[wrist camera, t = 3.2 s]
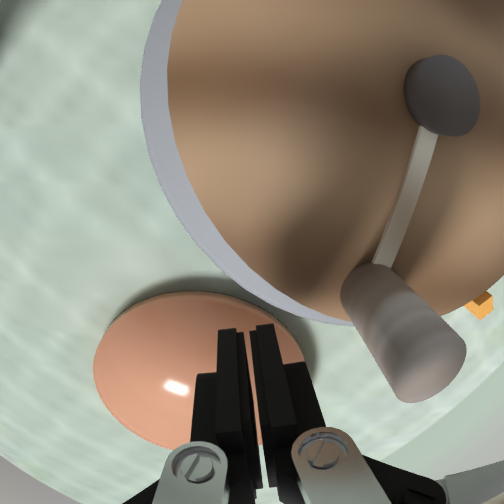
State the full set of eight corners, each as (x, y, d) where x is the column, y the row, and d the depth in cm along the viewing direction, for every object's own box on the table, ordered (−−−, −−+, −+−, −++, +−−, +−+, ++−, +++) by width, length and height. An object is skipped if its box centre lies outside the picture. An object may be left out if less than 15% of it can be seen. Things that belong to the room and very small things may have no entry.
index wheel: (165, -77, 8) (134, -174, 1) (505, -24, 8) (583, -45, 2) (211, 330, 14) (206, 459, 8) (521, 271, 15) (595, 324, 9)
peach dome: (69, 301, 15) (61, 311, 14) (303, 276, 15) (307, 285, 14) (135, 444, 19) (133, 455, 18) (305, 432, 20) (308, 443, 19)
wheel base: (139, -75, 8) (122, -111, 5) (501, -30, 9) (533, -41, 6) (189, 342, 16) (182, 387, 13) (517, 280, 17) (548, 302, 14)
